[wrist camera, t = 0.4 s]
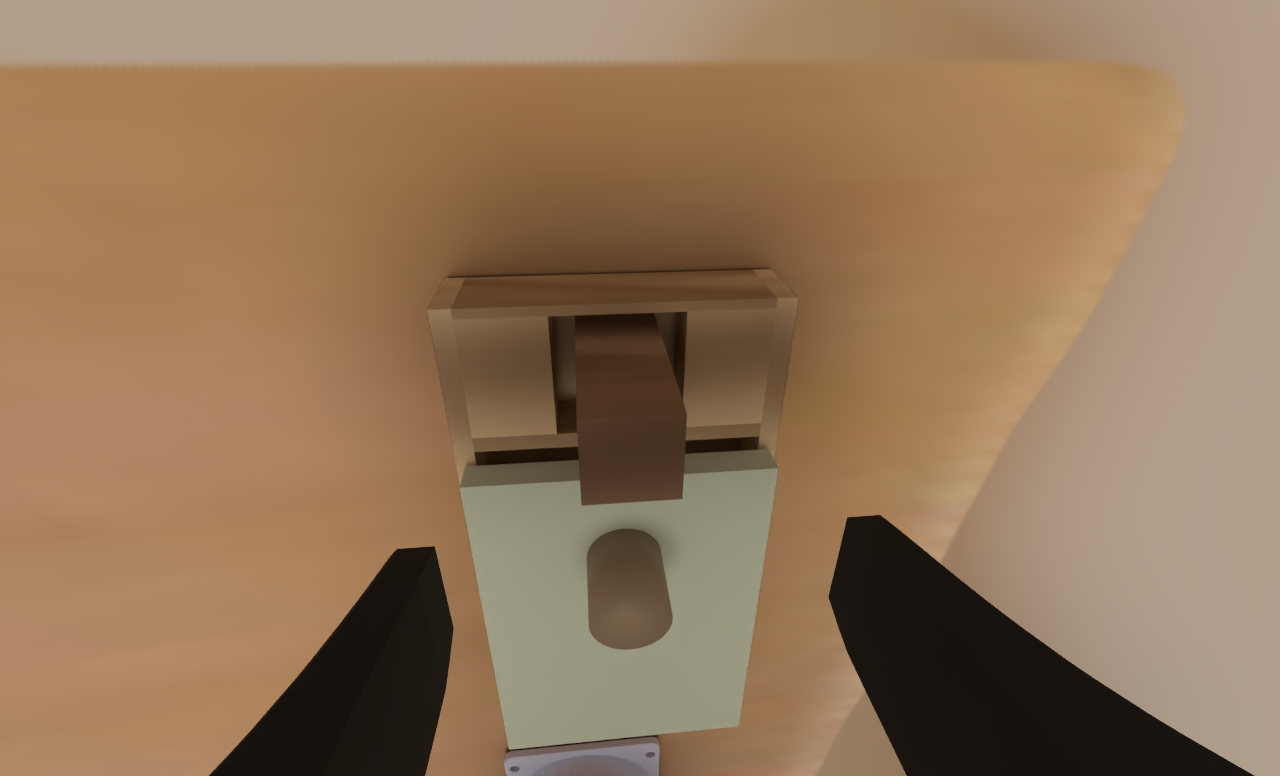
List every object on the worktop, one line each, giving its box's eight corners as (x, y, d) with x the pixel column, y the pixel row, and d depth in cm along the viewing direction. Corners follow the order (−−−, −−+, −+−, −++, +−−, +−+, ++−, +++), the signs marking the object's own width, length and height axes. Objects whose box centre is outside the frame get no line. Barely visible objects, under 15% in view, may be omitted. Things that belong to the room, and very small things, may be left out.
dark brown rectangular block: (651, 378, 19) (682, 499, 14) (578, 381, 19) (581, 505, 14) (653, 309, 18) (687, 414, 13) (574, 312, 18) (576, 419, 12)
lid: (732, 703, 25) (755, 791, 22) (511, 724, 24) (502, 820, 21) (768, 448, 18) (807, 526, 15) (464, 466, 18) (443, 551, 14)
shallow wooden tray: (723, 663, 28) (736, 714, 26) (512, 682, 27) (507, 737, 25) (771, 269, 18) (798, 297, 16) (444, 278, 17) (426, 309, 15)
